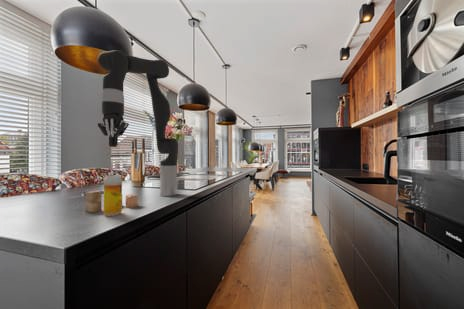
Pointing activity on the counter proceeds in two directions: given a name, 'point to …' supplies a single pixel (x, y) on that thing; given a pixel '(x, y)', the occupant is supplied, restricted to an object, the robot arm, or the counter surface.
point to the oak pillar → (93, 201)
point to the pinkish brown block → (131, 201)
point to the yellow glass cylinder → (112, 195)
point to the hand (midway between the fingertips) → (113, 146)
